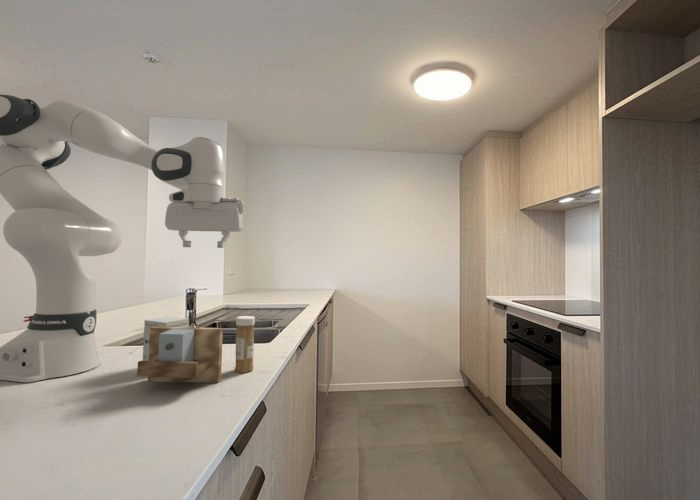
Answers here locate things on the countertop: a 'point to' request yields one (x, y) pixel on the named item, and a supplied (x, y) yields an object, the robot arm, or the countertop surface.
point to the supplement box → (160, 322)
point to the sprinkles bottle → (244, 343)
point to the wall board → (198, 370)
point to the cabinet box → (176, 345)
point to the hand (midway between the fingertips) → (203, 247)
